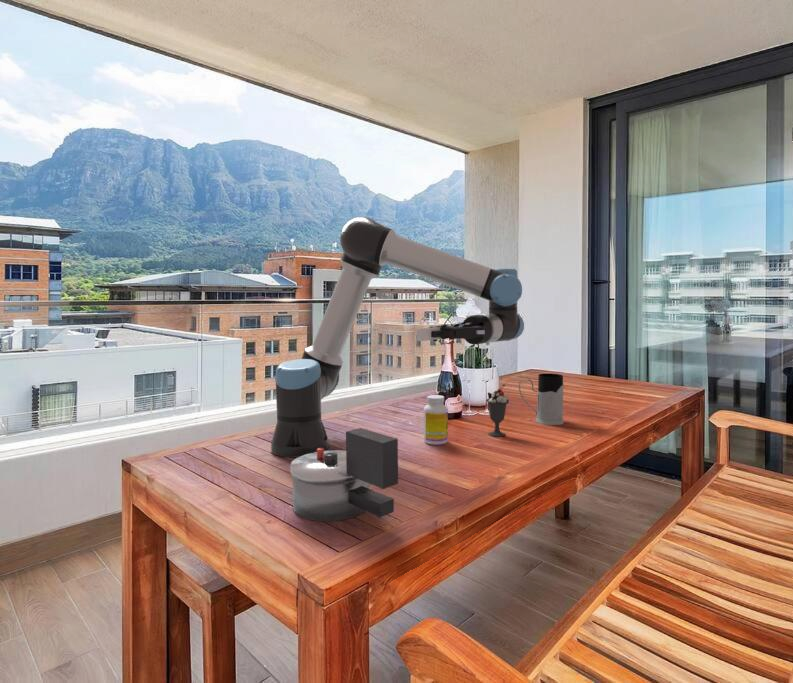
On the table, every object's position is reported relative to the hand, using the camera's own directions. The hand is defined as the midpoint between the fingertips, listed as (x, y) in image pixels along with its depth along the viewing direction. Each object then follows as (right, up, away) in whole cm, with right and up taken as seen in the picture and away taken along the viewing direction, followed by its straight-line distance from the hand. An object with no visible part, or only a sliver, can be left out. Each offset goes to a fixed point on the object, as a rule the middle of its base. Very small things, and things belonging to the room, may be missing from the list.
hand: (418, 334), depth 115 cm
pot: (-16, -34, -16) cm, 41 cm away
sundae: (+24, -29, +34) cm, 51 cm away
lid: (-15, -27, -19) cm, 36 cm away
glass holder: (+41, -27, +49) cm, 70 cm away
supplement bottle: (+6, -30, +27) cm, 40 cm away
